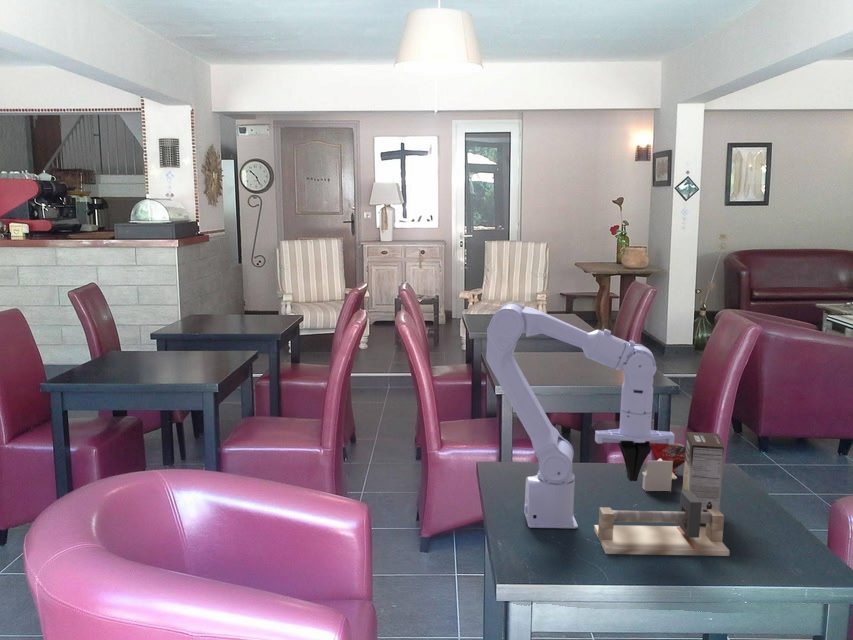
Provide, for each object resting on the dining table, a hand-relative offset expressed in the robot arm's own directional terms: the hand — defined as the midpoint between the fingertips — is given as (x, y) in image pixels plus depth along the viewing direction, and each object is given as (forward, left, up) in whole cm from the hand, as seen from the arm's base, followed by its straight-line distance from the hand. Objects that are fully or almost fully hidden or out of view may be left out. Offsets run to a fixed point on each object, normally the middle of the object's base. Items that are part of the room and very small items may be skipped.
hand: (632, 479), depth 144 cm
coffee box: (+16, +7, -10) cm, 20 cm away
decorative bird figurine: (+19, +31, -10) cm, 38 cm away
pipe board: (+4, -6, -10) cm, 12 cm away
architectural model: (+11, +20, -11) cm, 25 cm away
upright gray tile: (+9, -6, -8) cm, 13 cm away
